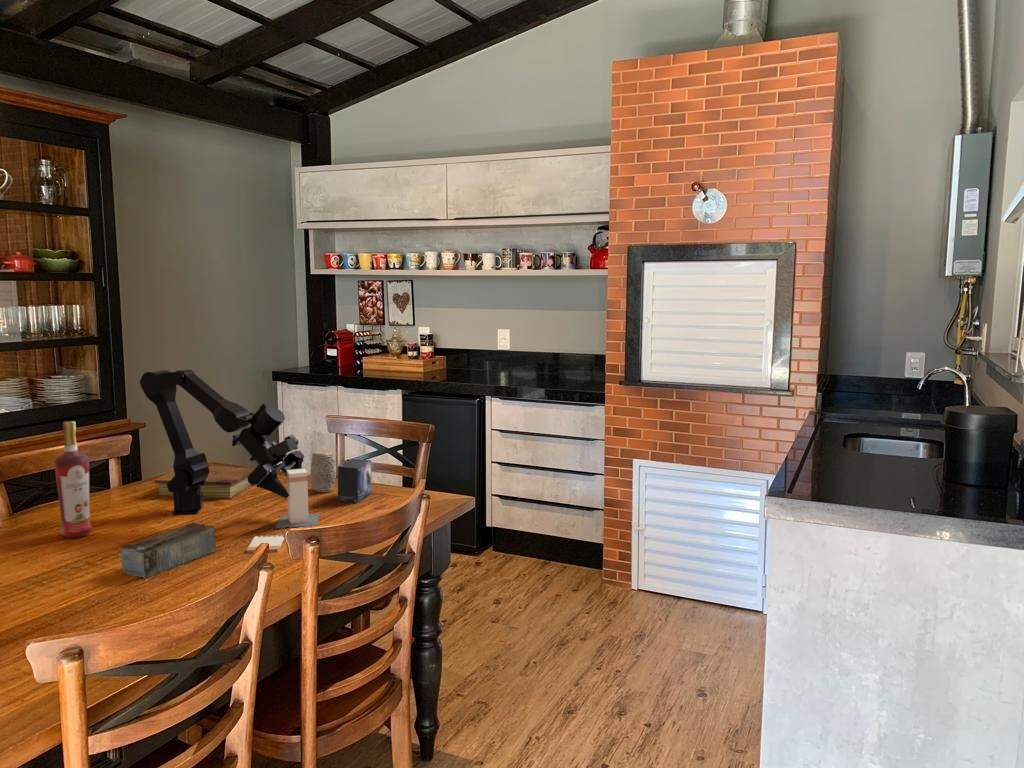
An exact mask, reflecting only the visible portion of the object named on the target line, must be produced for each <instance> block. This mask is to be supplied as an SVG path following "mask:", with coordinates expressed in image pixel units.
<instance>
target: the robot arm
mask: <svg viewBox="0 0 1024 768" xmlns="http://www.w3.org/2000/svg"><path fill="white" fill-rule="evenodd" d="M139 385H140V388H141V390H142V391H143V393H144V395H145V397H146V398H147V399H148V400H149V401H150V402H151V403H152V404H154V405H155V407H156V409H157V411H158V412H157V413H158V415H159V417H160V420H161V423H162V425H163V428H164V430H165V433H166V435H167V438H168V441H169V443H170V447H171V449H172V452H173V454H174V461H173V467H172V468H173V471H174V473H175V476H174V477H173V478H172V479H171V480H170V481H169V483H168V484H167V487H168V490H169V492H173V497H174V498H173V511H171V514H172V515H186V514H187V515H188V514H189V515H194V514H198V513H199V512H200V511H201V510H202V509H203V508H204V499H203V493H202V492H201V489H200V486H203V485H204V484H205V480H206V478H207V477H208V474H209V468H208V467H209V466H211V465H210V464H209V463H208V460H207V456H206V454H205V452H201V453H199V452H198V451H197V450H196V449H195V448H194V446H193V443H192V441H191V438H190V435H189V433H188V429H187V428H186V425H185V422H184V420H183V417H182V414H181V412H180V409H179V406H178V404H177V401H176V396H177V389H178V388H177V386H179V387H180V388H182V389H183V390H184V391H186V393H188V394H189V395H190V396H191V397H193V398H194V399H195V400H196V401H197V402H199V403H200V404H201V405H202V406H203V407H204V408H205V409H207V410H208V411H209V412H210V413H211V414H212V416H213V419H214V422H215V423H217V425H218V426H219V427H220V428H221V430H222V431H224V432H226V433H234V432H237V431H240V430H241V431H240V432H239V433H237V434H234V435H232V442H231V446H232V447H236V446H239V445H241V446H242V447H243V449H245V450H246V452H247V453H248V454H249V455H250V456H251V457H250V458H249V460H250V462H251V463H254V462H256V463H257V464H258V465H257V466H255V467H256V468H255V469H254V470H253V471H252V472H251V473H250V474H249V475H248V476H247V477H248V482H249V484H250V485H251V486H252V488H253V487H256V488H261V489H263V490H265V491H268V492H271V493H273V494H276V495H278V496H280V497H283V498H285V499H288V498H287V497H288V496H289V494H288V492H287V488H286V487H285V486H284V485H283V483H282V482H281V480H279V478H278V471H279V470H280V471H281V473H284V476H285V477H287V475H286V474H287V470H294V469H303V468H302V467H303V466H302V465H303V462H304V458H305V455H304V454H303V453H302V451H301V450H298V449H299V447H298V445H299V440H298V438H297V437H295V436H294V435H293V434H290V435H288V436H286V437H284V440H283V441H280V442H278V443H277V442H275V441H274V440H273V441H269V439H268V438H267V437H268V436H272V434H274V432H275V431H276V430H277V429H278V428H279V427H280V426H281V425H282V424H283V423H284V422H285V420H286V419H285V418H286V417H285V414H284V413H283V411H282V409H281V410H280V409H279V408H277V407H275V406H273V405H270V403H269V402H265V403H262V404H261V405H260V406H259V408H258V410H256V412H251V411H249V410H248V408H245V407H244V406H242V405H240V404H238V403H236V402H232V401H231V400H228V399H226V398H224V397H223V396H222V395H221V394H219V393H218V392H217V391H216V390H215V389H214V388H213V387H211V386H210V385H209V384H207V383H206V382H205V381H203V379H202V378H201V377H199V376H198V375H197V374H196V372H195V371H194V370H192V369H190V368H184V369H178V370H175V371H170V370H168V369H159V370H153V371H147V372H144V373H143V374H142V375H141V378H140V379H139ZM249 425H250V426H249ZM266 436H267V437H266Z"/></svg>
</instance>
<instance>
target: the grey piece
mask: <svg viewBox="0 0 1024 768" xmlns="http://www.w3.org/2000/svg"><path fill="white" fill-rule="evenodd" d="M215 530H216V527H215V526H212V525H206V524H202V523H201V524H199V523H196V522H191V523H187V524H185V525H182V526H180V527H177V528H174V529H172V530H171V529H170V530H169V531H166V532H163V533H160V534H157V535H155V536H152V537H148V538H146V539H145V538H144V539H143V540H140V541H136V542H134V543H130V544H128V545H124V546H122V547H120V554H121V555H120V556H121V568H122V574H126V573H127V575H130V574H131V575H130V576H134V575H135V576H134V577H137V576H139V577H138V578H141V577H143V578H142V579H145V578H146V579H148V578H150V577H149V576H151V577H153V576H155V575H154V574H156V575H158V574H157V573H159V572H161V571H164V572H166V571H165V570H167V571H169V570H168V569H170V568H172V569H174V567H175V568H177V567H179V565H180V566H182V565H184V563H185V564H187V563H189V561H190V562H192V561H194V559H195V560H197V559H200V558H203V557H204V556H205V557H206V556H208V555H210V554H213V553H215V552H217V544H216V543H217V541H216V531H215ZM207 554H208V555H207ZM186 562H187V563H186ZM181 564H182V565H181ZM176 566H177V567H176ZM170 570H171V569H170ZM159 574H160V573H159ZM152 575H153V576H152ZM147 577H148V578H147Z"/></svg>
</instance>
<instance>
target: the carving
mask: <svg viewBox="0 0 1024 768" xmlns="http://www.w3.org/2000/svg"><path fill="white" fill-rule="evenodd" d="M336 468H337V467H336V459H335V454H334V452H333V451H332V450H330V449H329V450H328V449H318V450H315V451H314V452H312V455H311V462H310V474H309V475H310V476H309V480H310V481H309V482H310V487H311V489H312V490H313V491H315V492H317V493H330V492H332V491H333V489H334V486H335V483H336V482H335V481H336V472H337V471H336V470H337V469H336Z"/></svg>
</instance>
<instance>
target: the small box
mask: <svg viewBox="0 0 1024 768" xmlns="http://www.w3.org/2000/svg"><path fill="white" fill-rule="evenodd" d="M370 495H372V459H371V460H370V459H360V458H350V459H349V460H347V461H345V462H344V463H341V464H340V465H338V466H337V502H338V501H339V503H348V502H355V503H354V504H358V503H360V502H362V501H363V500H365V499H366V498H368V497H369V496H370ZM359 501H360V502H359ZM357 502H358V503H357Z"/></svg>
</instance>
